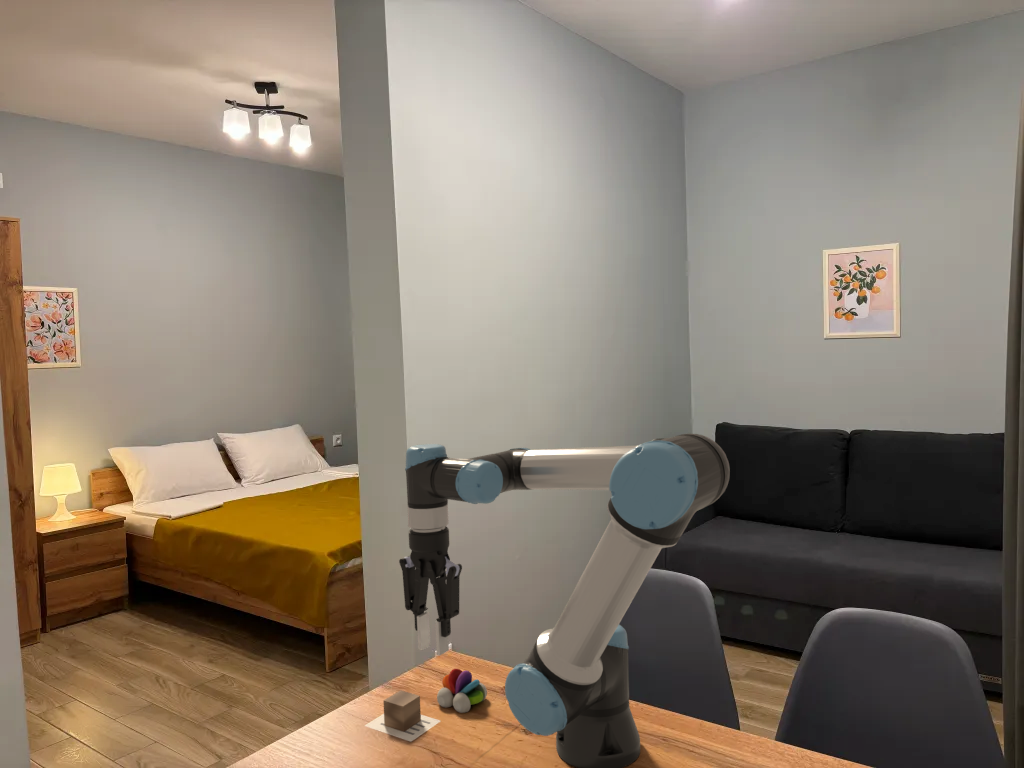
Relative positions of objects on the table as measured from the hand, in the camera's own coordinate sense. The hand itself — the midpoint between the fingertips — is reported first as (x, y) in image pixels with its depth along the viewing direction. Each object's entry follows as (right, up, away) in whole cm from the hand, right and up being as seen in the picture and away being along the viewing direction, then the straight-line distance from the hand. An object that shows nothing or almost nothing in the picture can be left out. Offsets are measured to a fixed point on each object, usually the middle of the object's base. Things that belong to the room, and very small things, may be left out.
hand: (433, 649), depth 142 cm
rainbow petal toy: (+5, -16, +13) cm, 22 cm away
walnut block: (-7, -16, +5) cm, 18 cm away
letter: (-7, -17, +5) cm, 19 cm away
